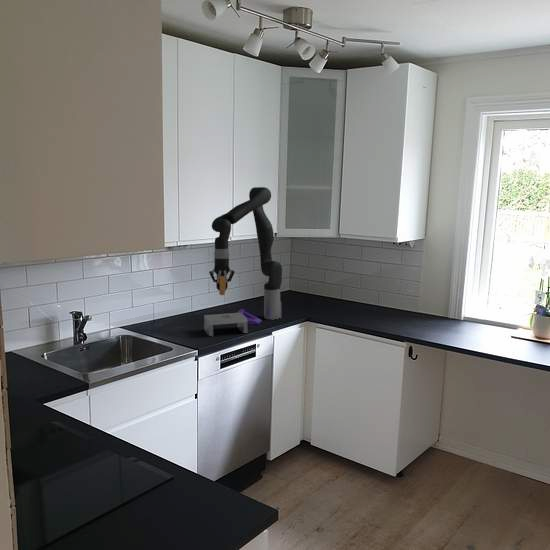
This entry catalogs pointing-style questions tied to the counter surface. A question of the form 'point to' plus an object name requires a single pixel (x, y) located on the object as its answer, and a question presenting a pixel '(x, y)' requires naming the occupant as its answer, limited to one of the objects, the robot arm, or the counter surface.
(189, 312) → the counter surface
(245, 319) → the grey slotted platform
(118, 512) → the counter surface
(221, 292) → the orange rectangular block
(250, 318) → the bracket
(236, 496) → the counter surface
